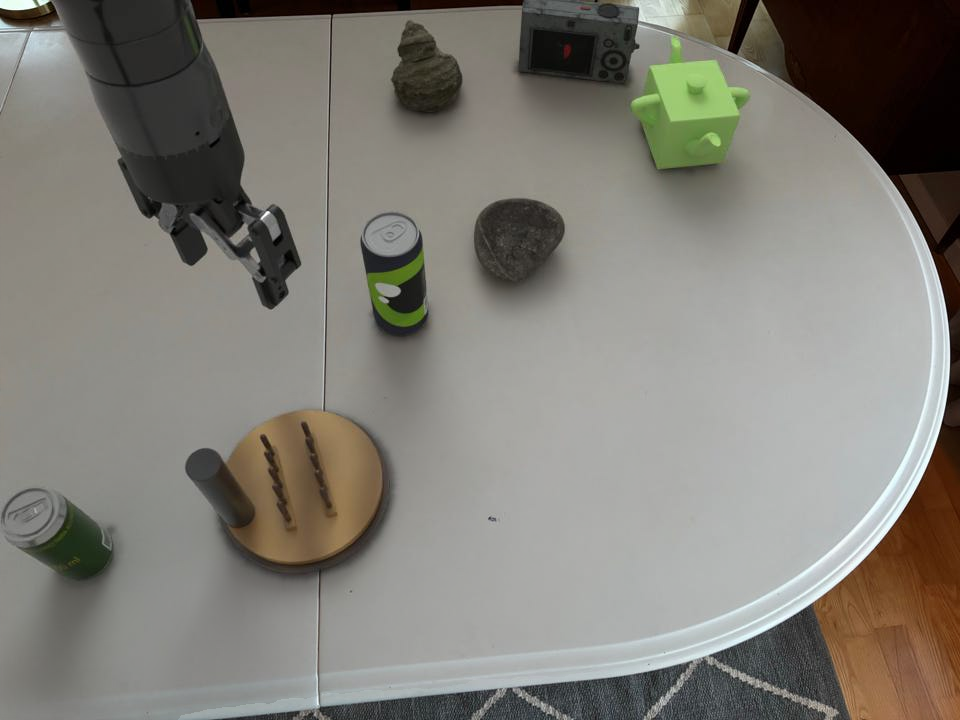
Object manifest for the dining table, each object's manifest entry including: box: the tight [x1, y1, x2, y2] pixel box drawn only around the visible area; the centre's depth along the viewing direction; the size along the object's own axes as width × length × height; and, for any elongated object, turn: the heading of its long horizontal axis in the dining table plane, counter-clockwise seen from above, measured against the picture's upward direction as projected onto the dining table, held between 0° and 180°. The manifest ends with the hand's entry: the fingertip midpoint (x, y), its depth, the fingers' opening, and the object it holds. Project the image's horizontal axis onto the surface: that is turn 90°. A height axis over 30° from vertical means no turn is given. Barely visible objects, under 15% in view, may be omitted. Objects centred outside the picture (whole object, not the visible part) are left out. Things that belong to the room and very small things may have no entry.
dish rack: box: [184, 409, 383, 565], centre depth 74 cm, size 16×16×13 cm
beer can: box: [0, 484, 114, 581], centre depth 72 cm, size 5×5×12 cm
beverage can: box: [359, 210, 429, 337], centre depth 85 cm, size 6×6×15 cm
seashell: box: [390, 19, 463, 114], centre depth 106 cm, size 11×12×10 cm
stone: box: [473, 197, 566, 283], centre depth 94 cm, size 11×11×5 cm
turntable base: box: [219, 413, 390, 575], centre depth 80 cm, size 17×17×1 cm
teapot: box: [630, 35, 751, 170], centre depth 101 cm, size 15×13×11 cm
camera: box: [517, 0, 641, 84], centre depth 109 cm, size 16×4×10 cm, turn 81°
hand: (235, 279), depth 64 cm, fingers open, 8 cm apart
